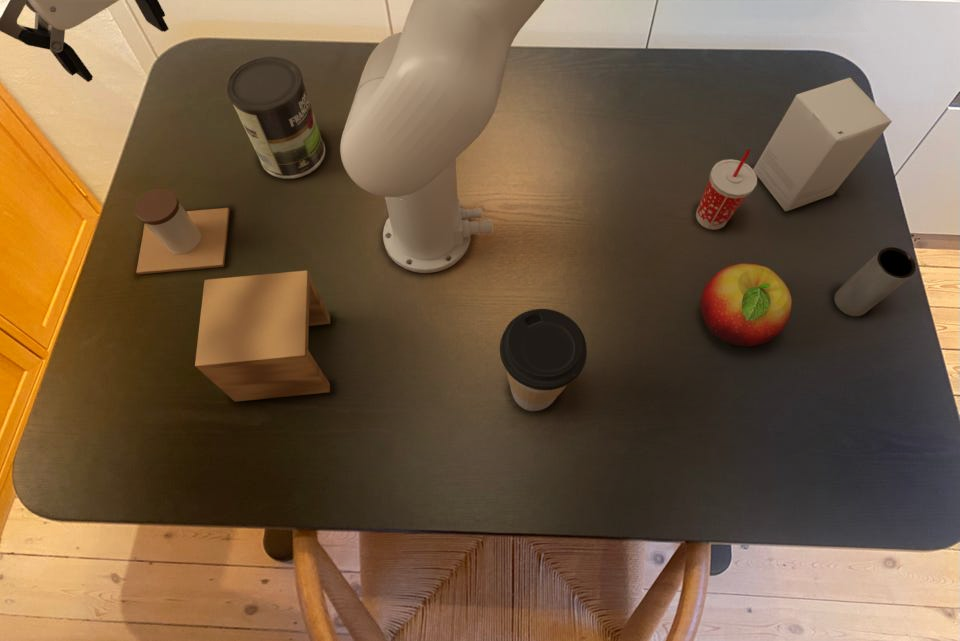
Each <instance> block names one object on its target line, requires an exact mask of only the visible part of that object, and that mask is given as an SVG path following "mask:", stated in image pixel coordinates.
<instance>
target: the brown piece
mask: <svg viewBox="0 0 960 641" xmlns="http://www.w3.org/2000/svg"><path fill="white" fill-rule="evenodd" d="M319 293H320V292H319V291H318V289H317V286H316V285H315V283H314V280H313V279H312V277H311V275H310V273H309V271H308V270H296V271H285V272H277V273H276V272H275V273H265V274H264V273H263V274H252V275H241V276H232V277H231V276H230V277H220V278H210V279H204V282H203V290H202V301H201V309H200V318H199V326H198V335H197V343H196V344H197V345H196V353H195V361H194V362H195V364H194V366H195V368H197V369H198V370H199V371H200V372H201V373H202V374H203V375H204V376H205V377H206V378H208V379H209V380H210V381H211V382H212V383H213V384H214V385H215V386H217V388H219V389H220V390H221V391H222V392H223V393H225V394H226V395H227V396H228V397H229V398H230V399H231V400H232V401H233V402H234V403H236V402H244V401H246V402H247V401H256V400H265V399H267V400H268V399H275V398H276V399H277V398H286V397H287V398H288V397H296V396H306V395H315V394H324V393H331V384H330V381H329V380H328V378H327V377H326V375H325V373H324V372H323V371H322V369H321V368H320V366H319V364H318V363H317V361H316V360H315V359H314V357H313V355H312V354H311V352H310V351H309V327H310V326H321V325H330V324H331V315H330V313H329V311H328V309H327V307H326V305H325V303H324V301H323V299H322V297H321V295H320V294H319Z"/></svg>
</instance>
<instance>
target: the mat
mask: <svg viewBox="0 0 960 641" xmlns="http://www.w3.org/2000/svg"><path fill="white" fill-rule="evenodd" d="M185 211H186V212H187V214H188V215H189V216H190V218H191V219H192V221H193V222H194V223H195V225H196V226H197V227H198V229H199V230H200V233H201V239H200V242H199V244H198V245H197V246H196V247H195V248H194V249H193V250H191V251H190V252H187V253H184V254H174V253H171V252H169V251H168V250H167V249H166V248H165V247H164V246H163V244H162V243H161V242H160V241H159V240H158V239H157V237H156V236H155V235H154V234H153V233H152V231H151V230H150V229H149V228H148V227H147V226H146V224H145V223H144V225H143V231H142V237H141V244H140V250H139V254H138V261H137V266H136V271H135V272H136V274H137V275H150V274H160V273H172V272H183V271H192V270H204V269H214V268H224V267H225V263H226V261H225V260H226V252H227V242H228V234H229V233H228V232H229V224H230V223H229V222H230V220H229V219H230V212H231V210H230V208H229V207H223V208H221V207H220V208H208V209H198V210H197V209H196V210H185Z"/></svg>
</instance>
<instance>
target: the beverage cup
mask: <svg viewBox="0 0 960 641" xmlns="http://www.w3.org/2000/svg"><path fill="white" fill-rule="evenodd" d="M751 152H752V151H751V149H750V148H747V149H746V151H745V153H744V154H743V156H742V158H741V160H738V159H732V158H729V159H721V160H720V161H718V162H716V163H715V164H714V165H713V167H712V169H710V173H709V180H708V182H707V185H706V186H705V189H704V192H703V194H702V197H701V198H700V201H699V204H698V206H697V209H696V212H695V217H696V221H697V222H698V224H700V225H701V227H703V228H706V229H708V230H714V231H715V230H720V229H722V228H724V227H725V226H726V225H727V223H728V222H729V221H730V220H731V218H732V216H733V215H734V214H735V212H736V211H737V210H738V208H739V207H740V206H741V204H743V202H744V200H745V199H746V197H747V196H749V195H751V193H752V192H753V191H754V190H755V188H756V187H757V184H758V176H757V175H756V174H755V172H754V170H753V169H754V168H753V167H751V166H750V165H749V164H748V163H746V160H747V159H748V157H749V155H750V153H751Z"/></svg>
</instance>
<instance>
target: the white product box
mask: <svg viewBox="0 0 960 641" xmlns="http://www.w3.org/2000/svg"><path fill="white" fill-rule="evenodd" d="M892 122H893V120H892V119H890V117H889V116H888V115H887V114H885V112H884V111H883V110H882V109H881V108H880V107H879V106H878V105H877V104H876V103H875V102H874V101H873V100H872V99H871V97H869V96H868V94H866V93H865V92H864V90H863V89H862V88H861V87H860V86H859V85H858V84H857V83H856V82H855V81H854V80H853V79H852V78H851V77H847V78H844V79H840V80H837V81H835V82H832V83H829V84H826V85H822V86H819V87H816V88H812V89H809V90H807V91H804V92H800V93H798V94H797V93H796V95H795V96H794V98H793V100H792V102H791V104H790V105H789V107H788V109H787V111H786V112H785V114H784V115H783V117H782V120H781V121H780V123H779V125H778V126H777V128H776V129H775V131H774V133H773V134H772V137H771V138H770V140H769V141H768V143H767V144H766V147H764V150H763V152H761V155H760V156H759V159H758V161H757V162H756V163H755V165H754V167H753V168H752V169H753V170H754V172H755V174H756V176H757V178H758V179H759V180H760V181H761V184H763V185H764V186H765V188H766V189H767V190H768V192H769V193H770V194H771V196H772V197H773V198H774V200H776V202H777V203H778V204H779V206H780V207H781V208H782V209H783V211H784V212H789V211H792V210H795V209H797V208H800V207H803V206H806V205H808V204H811V203H814V202H817V201H819V200H822V199H824V198H828V197H830V196H832V195H834V194H835V193H836V191H837V190H838V189H839V188H840V186H841V185H842V184H843V182H845V180H846V179H847V178H848V176H850V174H851V173H852V172H853V171H854V169H855V168H856V167H857V165H858V164H859V163H860V161H861V160H862V159H863V158H864V156H865V155H866V154H867V153H868V152H869V150H870V149H871V148H872V146H873V145H874V144H875V143H876V142H877V140H878V139H879V138H880V137H881V135H882V134H883V133H885V131H886V130H887V128H888V127H889V126H890V125H891V124H892Z"/></svg>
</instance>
